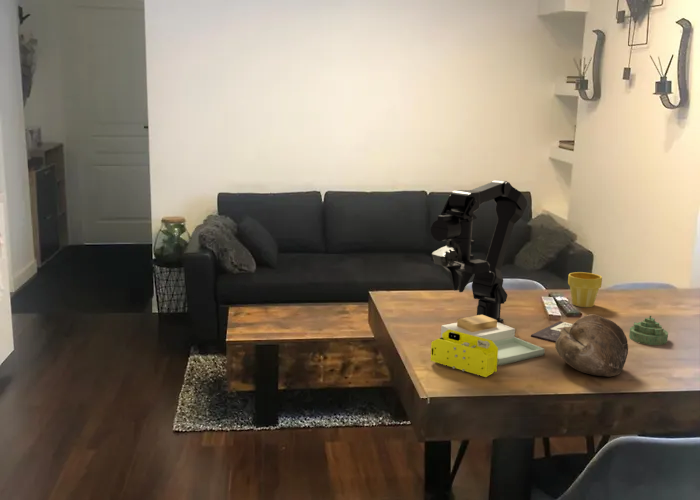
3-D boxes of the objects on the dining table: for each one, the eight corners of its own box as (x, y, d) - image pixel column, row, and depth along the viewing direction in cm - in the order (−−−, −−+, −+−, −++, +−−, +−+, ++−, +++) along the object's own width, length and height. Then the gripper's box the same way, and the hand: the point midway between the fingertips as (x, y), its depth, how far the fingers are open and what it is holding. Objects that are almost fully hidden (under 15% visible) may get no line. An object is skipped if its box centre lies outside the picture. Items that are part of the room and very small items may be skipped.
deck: (484, 330, 217) (485, 317, 217) (514, 342, 208) (515, 328, 207) (440, 339, 209) (441, 325, 208) (469, 352, 199) (470, 337, 198)
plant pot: (572, 298, 253) (575, 270, 251) (603, 304, 247) (606, 275, 245) (561, 305, 245) (563, 275, 243) (593, 311, 239) (596, 281, 237)
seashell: (575, 350, 177) (594, 298, 184) (534, 362, 192) (553, 314, 199) (627, 385, 180) (644, 333, 186) (583, 395, 194) (600, 346, 201)
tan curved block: (481, 321, 213) (482, 314, 212) (496, 327, 208) (497, 320, 207) (457, 326, 208) (457, 319, 207) (471, 332, 203) (472, 325, 203)
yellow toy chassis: (497, 374, 185) (499, 341, 183) (485, 380, 180) (487, 347, 179) (442, 358, 195) (444, 327, 193) (429, 364, 191) (431, 332, 189)
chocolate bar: (531, 334, 213) (560, 321, 226) (530, 338, 213) (559, 324, 227) (560, 342, 207) (588, 327, 221) (560, 345, 208) (588, 330, 221)
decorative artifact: (629, 332, 220) (628, 342, 210) (631, 308, 218) (631, 318, 209) (666, 336, 216) (667, 347, 207) (669, 313, 215) (670, 322, 206)
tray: (514, 342, 208) (514, 336, 207) (544, 354, 198) (544, 348, 198) (469, 352, 199) (470, 346, 199) (498, 365, 190) (499, 359, 190)
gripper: (417, 233, 213) (415, 287, 217) (460, 245, 198) (457, 303, 201) (448, 230, 219) (445, 282, 222) (492, 241, 204) (489, 297, 207)
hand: (458, 291), depth 213 cm, fingers closed
